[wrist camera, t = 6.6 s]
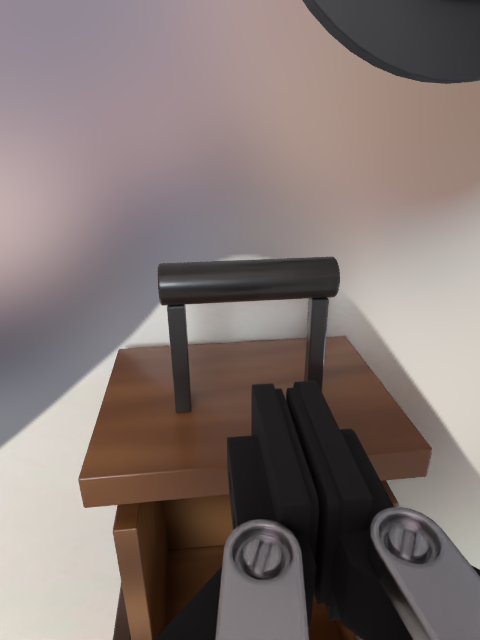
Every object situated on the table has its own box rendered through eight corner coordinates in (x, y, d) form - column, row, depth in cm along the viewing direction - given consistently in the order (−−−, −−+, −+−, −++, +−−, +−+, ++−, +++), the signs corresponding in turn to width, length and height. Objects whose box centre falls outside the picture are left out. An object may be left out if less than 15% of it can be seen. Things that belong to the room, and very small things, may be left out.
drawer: (102, 232, 19) (42, 305, 11) (356, 223, 20) (466, 285, 12) (145, 546, 27) (127, 724, 19) (327, 528, 28) (384, 688, 20)
